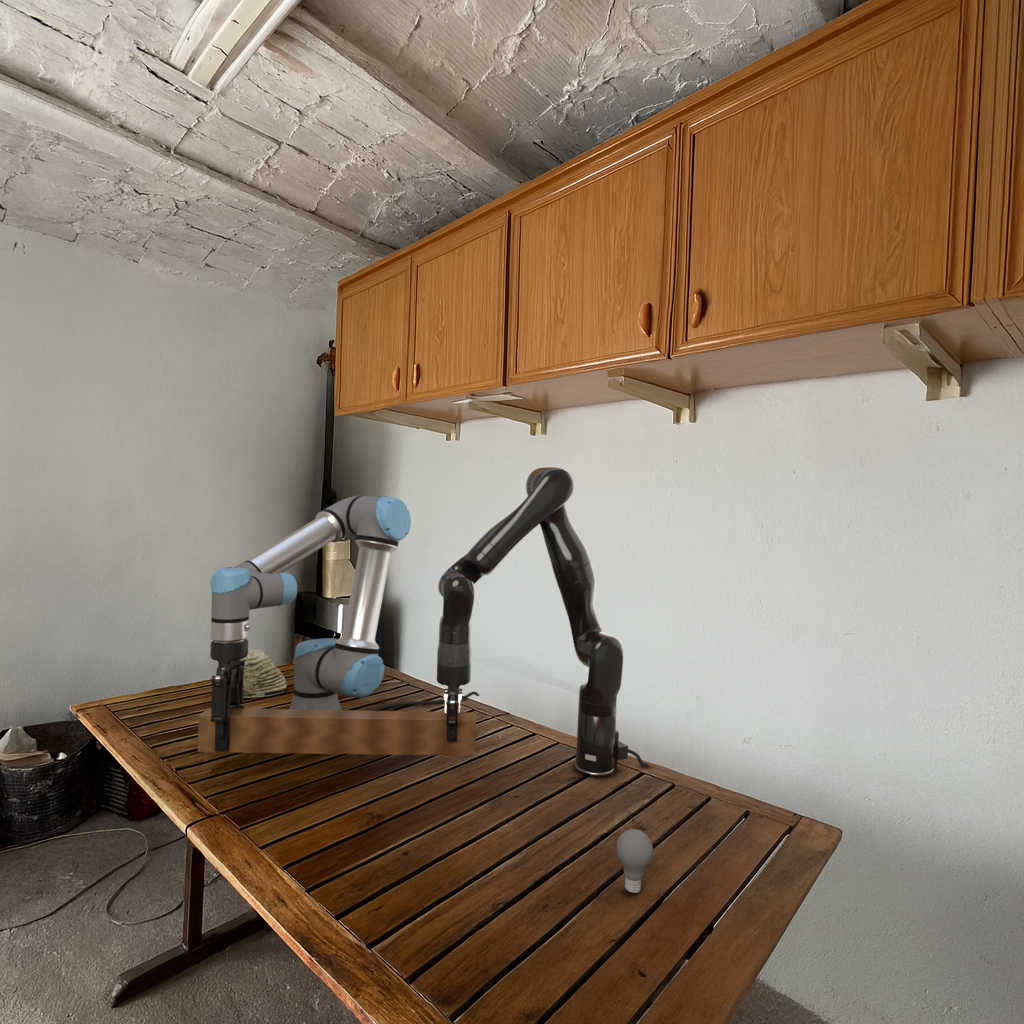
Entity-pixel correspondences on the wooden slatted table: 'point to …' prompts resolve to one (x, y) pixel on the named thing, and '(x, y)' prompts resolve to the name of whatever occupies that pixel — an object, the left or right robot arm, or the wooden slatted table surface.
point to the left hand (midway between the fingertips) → (226, 744)
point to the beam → (340, 732)
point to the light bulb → (634, 857)
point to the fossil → (261, 675)
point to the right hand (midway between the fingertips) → (452, 736)
